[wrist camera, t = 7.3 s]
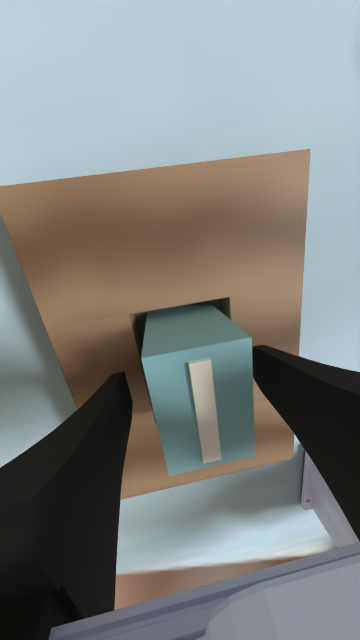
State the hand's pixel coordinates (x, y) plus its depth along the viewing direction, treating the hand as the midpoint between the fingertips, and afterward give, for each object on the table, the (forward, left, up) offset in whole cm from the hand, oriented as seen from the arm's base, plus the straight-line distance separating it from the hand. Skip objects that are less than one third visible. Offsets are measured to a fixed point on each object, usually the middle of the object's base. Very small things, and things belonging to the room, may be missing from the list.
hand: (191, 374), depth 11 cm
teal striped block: (0, 0, -3) cm, 3 cm away
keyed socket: (0, 0, -3) cm, 3 cm away
